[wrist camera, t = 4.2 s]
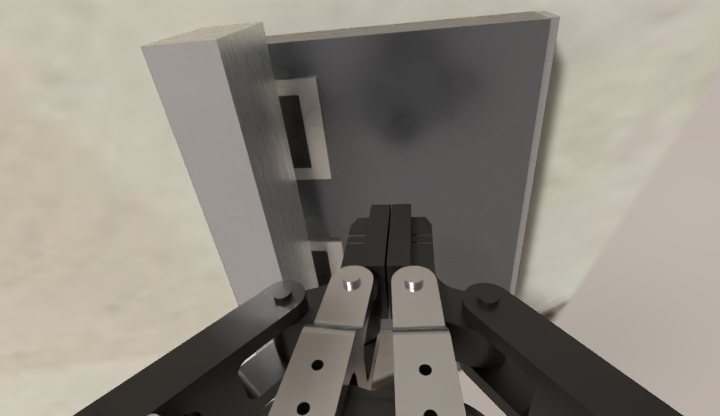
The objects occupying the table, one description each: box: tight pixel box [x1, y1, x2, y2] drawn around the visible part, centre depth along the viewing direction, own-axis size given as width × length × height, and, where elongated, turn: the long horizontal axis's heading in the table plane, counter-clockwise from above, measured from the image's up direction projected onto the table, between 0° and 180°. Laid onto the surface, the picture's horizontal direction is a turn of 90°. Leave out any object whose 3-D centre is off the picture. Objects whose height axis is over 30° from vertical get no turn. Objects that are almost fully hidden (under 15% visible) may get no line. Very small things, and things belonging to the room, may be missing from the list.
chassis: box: [266, 11, 560, 330], centre depth 21 cm, size 14×18×3 cm
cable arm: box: [141, 22, 319, 400], centre depth 19 cm, size 23×4×4 cm, turn 5°
